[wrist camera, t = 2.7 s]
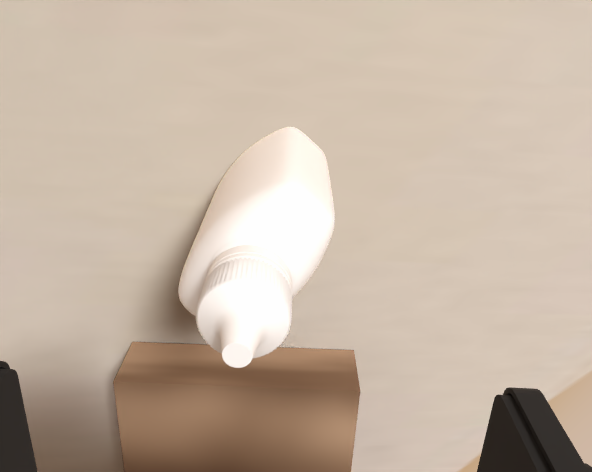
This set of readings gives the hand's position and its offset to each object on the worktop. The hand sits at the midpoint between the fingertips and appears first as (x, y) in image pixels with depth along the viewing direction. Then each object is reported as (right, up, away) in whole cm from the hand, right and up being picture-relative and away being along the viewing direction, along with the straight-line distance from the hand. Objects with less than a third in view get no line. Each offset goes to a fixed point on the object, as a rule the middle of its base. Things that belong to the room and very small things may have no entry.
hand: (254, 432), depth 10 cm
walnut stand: (-2, -7, +18) cm, 19 cm away
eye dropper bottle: (0, +6, +13) cm, 14 cm away
